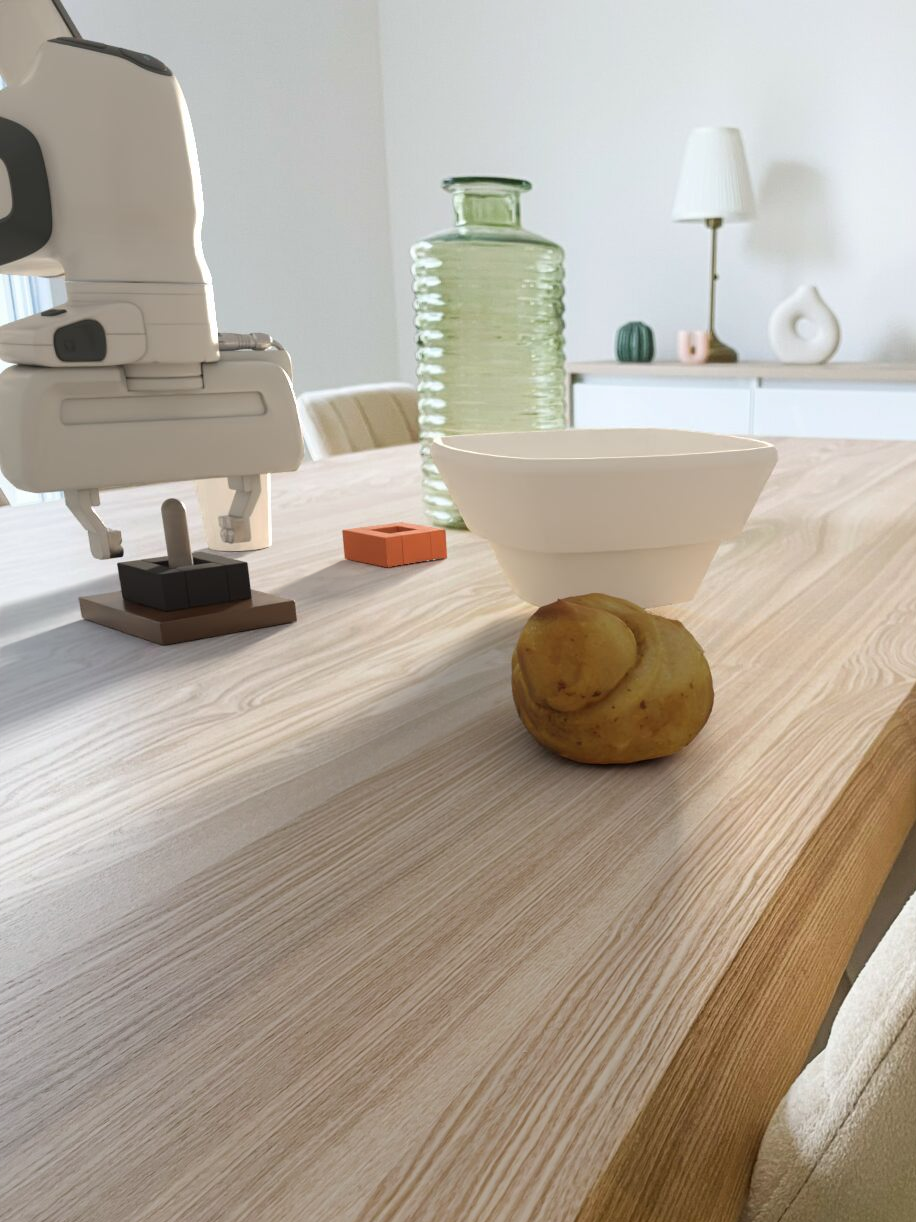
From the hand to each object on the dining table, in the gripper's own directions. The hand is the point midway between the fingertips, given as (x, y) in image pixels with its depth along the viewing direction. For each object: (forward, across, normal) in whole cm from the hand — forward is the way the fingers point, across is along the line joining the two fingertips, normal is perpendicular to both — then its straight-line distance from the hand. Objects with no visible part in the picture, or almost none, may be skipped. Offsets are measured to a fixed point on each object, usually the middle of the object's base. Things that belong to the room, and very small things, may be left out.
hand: (174, 549), depth 89 cm
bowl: (+5, -23, +18) cm, 30 cm away
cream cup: (+5, -19, -26) cm, 32 cm away
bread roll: (+4, -1, +41) cm, 42 cm away
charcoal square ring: (+3, 0, 0) cm, 3 cm away
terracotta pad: (+5, -25, -10) cm, 27 cm away
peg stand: (+5, 0, 0) cm, 5 cm away
